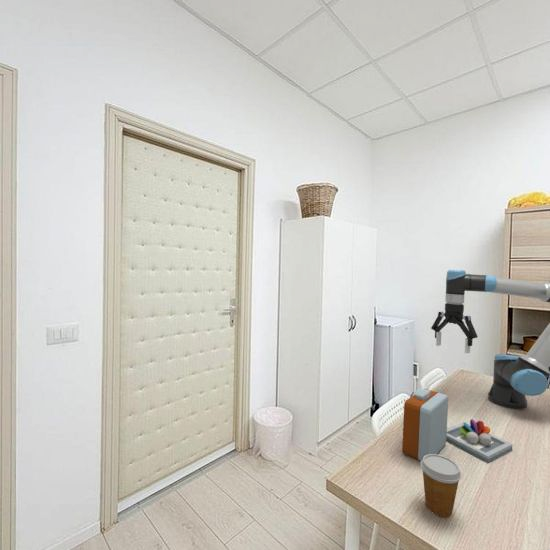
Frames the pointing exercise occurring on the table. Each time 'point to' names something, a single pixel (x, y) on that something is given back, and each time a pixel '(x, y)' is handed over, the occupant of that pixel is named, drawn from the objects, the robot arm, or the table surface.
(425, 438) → the rectangular block
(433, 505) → the disposable coffee cup
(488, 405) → the table surface
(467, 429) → the rainbow disc rolling toy
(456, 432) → the square gray tray
